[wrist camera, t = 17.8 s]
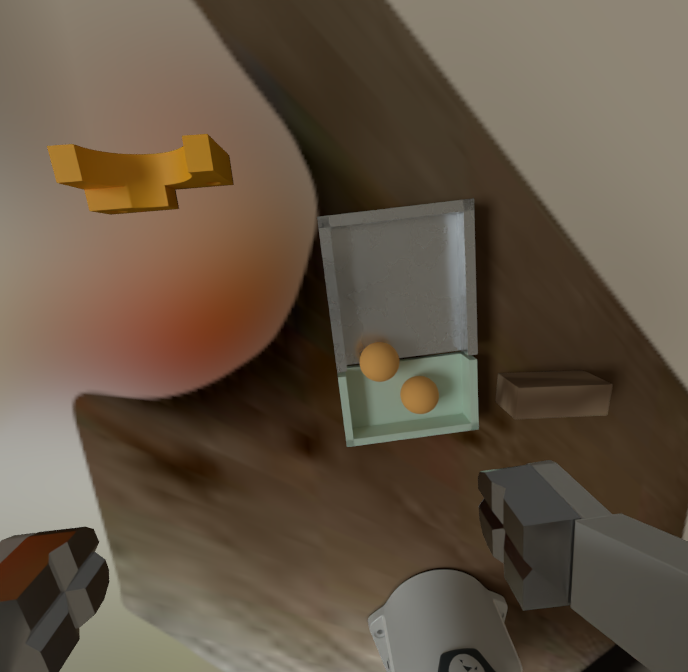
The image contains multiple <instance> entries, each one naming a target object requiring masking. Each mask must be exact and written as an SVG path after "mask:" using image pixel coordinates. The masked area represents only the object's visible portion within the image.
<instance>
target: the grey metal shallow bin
mask: <svg viewBox="0 0 688 672" xmlns="http://www.w3.org/2000/svg"><path fill="white" fill-rule="evenodd" d="M317 219H318V226H319V234H320V242H321V250H322V257H323V265H324V273H325V280H326V288H327V296H328V304H329V311H330V319H331V327H332V335H333V342H334V350H335V358H336V365H337V373H339V372H347V365H350V364H358V363H360V356H361V353H362V351H363V350H364V349H365V348H366V347H367V346H368V345H370V344H372V343H375V342H384V343H387V344H389V345H391V346H392V347H393V348H394V349H395V350H396V351H397V353H398V356H399V358H404V357H412V356H419V355H427V354H435V353H442V352H450V351H458V350H461V351H463V352H464V353H465V354H467V355H468V356H469V355H477V354H478V344H477V302H476V260H475V218H474V198H473V199H465V200H456V201H448V202H440V203H431V204H423V205H414V206H406V207H398V208H389V209H381V210H372V211H364V212H355V213H347V214H339V215H330V216H322V217H317Z"/></svg>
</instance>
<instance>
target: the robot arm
mask: <svg viewBox="0 0 688 672" xmlns="http://www.w3.org/2000/svg"><path fill="white" fill-rule="evenodd" d="M478 489H479V491H480V492H481V494H482V495H483V497H484V499H483V501H482V502H481V504H480V505H479V520H480V524H481V528H482V533H483V536H484V538H485V541H486V543H487V546H488V548H489V549H490V551H491V553H492V555H493V556H494V557H495V558H497V559H498V560H500V561H501V562H503V563H504V577H505V579H506V581H507V583H508V584H509V586H510V588H511V590H512V592H513V593H514V595H515V597H516V599H517V601H518V602H519V604H520V606H521V608H522V610H523V611H524V610H532V609H541V608H550V607H558V606H567V605H571V609H573V610H574V611H575V612H577V613H578V614H579V615H580V616H582V617H583V618H584V619H585V620H587V621H588V622H589V623H591V624H592V625H593V626H594V627H596V628H597V629H598V630H600V631H601V632H602V633H603V634H605V635H606V636H607V637H608V638H610V639H611V640H612V641H614V642H615V643H616V644H617V645H619V646H620V647H621V648H622V649H624V650H625V651H626V652H628V653H629V654H630V655H631V656H633V657H634V658H635V659H637V660H638V661H639V662H641V663H642V664H643V665H644V666H646V667H647V668H648V669H649V670H651V671H652V672H688V541H685V540H683V539H681V538H678V537H676V536H673V535H671V534H669V533H666V532H664V531H661V530H659V529H657V528H654V527H652V526H649V525H647V524H645V523H642V522H640V521H637V520H635V519H633V518H630V517H628V516H625V515H623V514H614V515H613V514H611V513H610V512H609V511H608V510H607V509H606V508H605V507H604V506H603V505H602V504H601V503H599V502H598V501H597V500H596V499H595V498H594V497H593V496H592V495H591V494H590V493H589V492H587V491H586V490H585V489H584V488H583V487H582V486H581V485H580V484H579V483H578V482H577V481H575V480H574V479H573V478H572V477H571V476H570V475H569V474H568V473H567V472H566V471H565V470H563V469H562V468H561V467H560V466H559V465H558V464H557V463H556V462H553V461H551V460H547V461H541V462H535V463H529V464H526V465H522V466H515V467H508V468H501V469H494V470H487V471H481V472H479V476H478ZM98 543H99V541H98V538H97V536H96V534H95V531H94V529H91V528H88V527H79V528H70V529H61V530H53V531H44V532H38V533H30V534H22V535H14V536H12V537H9V538H6V539H4V540H2V541H1V542H0V672H59V671H60V669H61V668H62V666H63V665H64V663H65V661H66V660H67V658H68V657H69V655H70V653H71V652H72V650H73V649H74V647H75V646H76V644H77V642H78V641H79V627H81V626H82V625H83V624H84V623H85V622H87V621H88V620H89V619H90V618H91V617H92V616H94V615H95V614H96V612H97V610H98V609H99V607H100V605H101V603H102V602H103V600H104V598H105V595H106V591H107V587H108V584H109V569H108V566H107V563H106V560H105V559H104V558H103V557H101V556H100V555H98V554H97V553H96V552H95V550H96V548H97V546H98ZM507 609H508V606H507V604H506V601H505V599H504V597H503V596H501V595H499V594H497V593H494V592H491V591H488V590H487V589H486V588H485V587H484V586H483V585H482V584H481V583H480V582H479V581H478V580H476V579H475V578H474V577H472V576H470V575H468V574H466V573H463V572H460V571H455V570H433V571H428V572H424V573H421V574H418V575H416V576H414V577H412V578H410V579H408V580H407V581H405V582H404V583H403V584H401V585H400V586H399V587H398V588H397V589H396V590H395V591H394V592H393V593H392V595H391V596H390V598H389V599H388V601H387V602H386V604H385V605H384V606H383V607H381V608H380V609H378V610H377V611H375V612H374V613H373V614H372V615H371V616H370V617H369V618H368V624H369V629H370V632H371V634H372V637H373V639H374V642H375V644H376V647H377V649H378V651H379V654H380V656H381V659H382V661H383V664H384V666H385V669H386V671H387V672H523V668H522V665H521V662H520V659H519V657H518V655H517V652H516V650H515V647H514V645H513V643H512V640H511V638H510V636H509V633H508V631H507V628H506V626H505V624H504V622H505V618H506V614H507Z"/></svg>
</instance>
